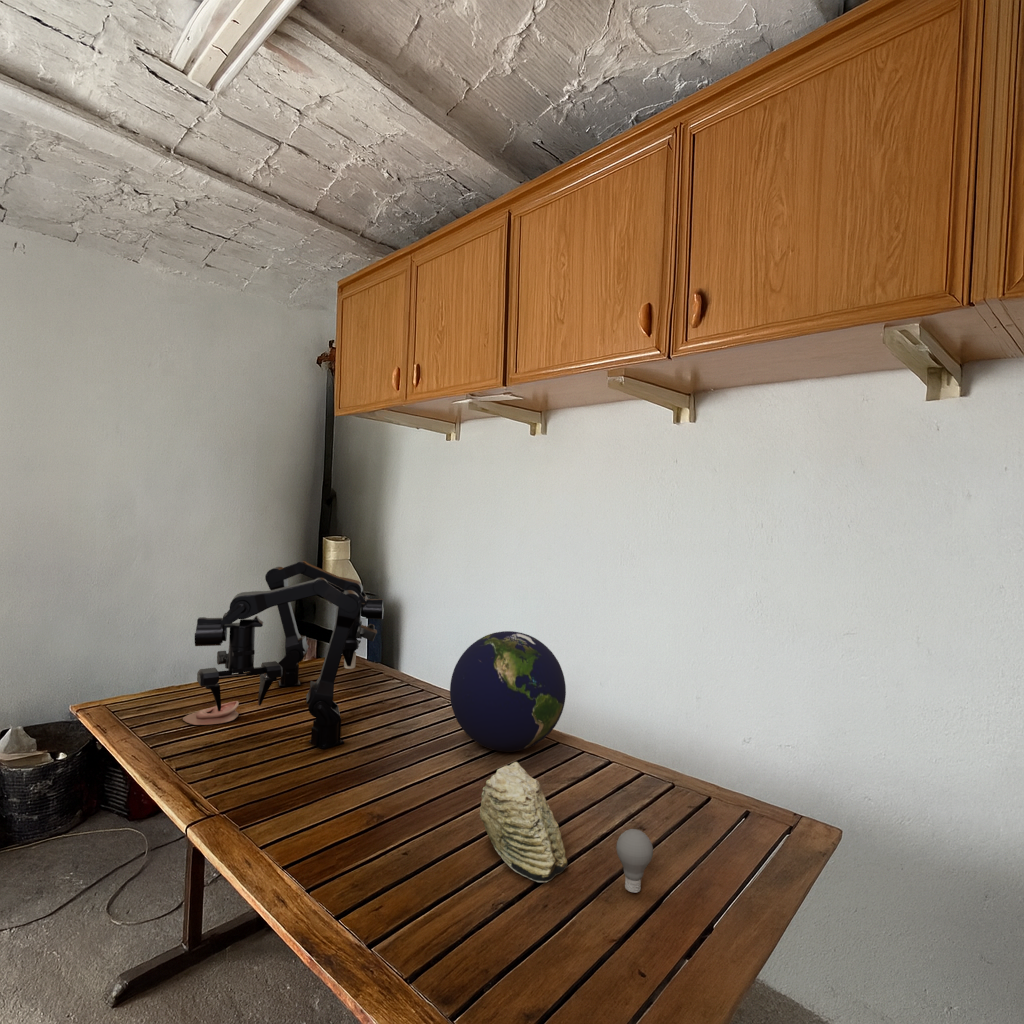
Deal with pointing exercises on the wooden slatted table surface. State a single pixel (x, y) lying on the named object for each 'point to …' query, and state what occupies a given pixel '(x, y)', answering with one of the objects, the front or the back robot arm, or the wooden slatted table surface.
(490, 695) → the globe
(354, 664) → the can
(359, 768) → the wooden slatted table surface
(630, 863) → the light bulb
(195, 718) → the anatomical model
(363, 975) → the wooden slatted table surface
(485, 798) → the fossil
